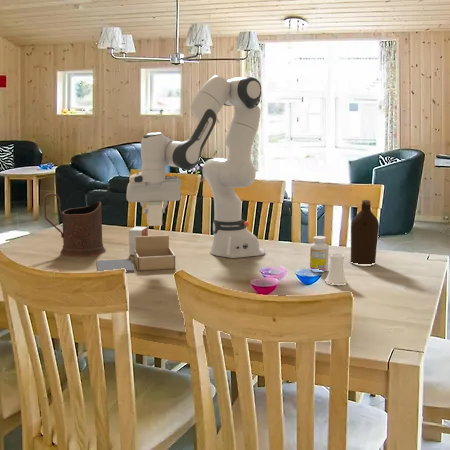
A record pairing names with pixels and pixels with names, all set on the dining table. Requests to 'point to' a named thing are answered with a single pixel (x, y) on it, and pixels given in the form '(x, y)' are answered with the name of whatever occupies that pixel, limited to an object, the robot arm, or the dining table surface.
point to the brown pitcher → (80, 230)
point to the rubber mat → (115, 265)
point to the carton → (153, 253)
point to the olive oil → (364, 235)
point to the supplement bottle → (319, 254)
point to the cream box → (154, 213)
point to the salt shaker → (336, 270)
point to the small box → (136, 233)
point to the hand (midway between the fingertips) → (154, 213)
